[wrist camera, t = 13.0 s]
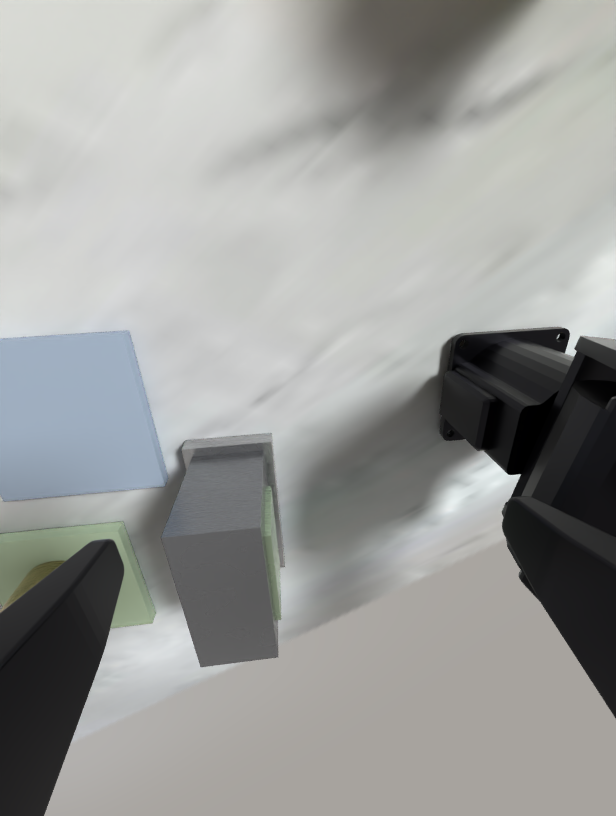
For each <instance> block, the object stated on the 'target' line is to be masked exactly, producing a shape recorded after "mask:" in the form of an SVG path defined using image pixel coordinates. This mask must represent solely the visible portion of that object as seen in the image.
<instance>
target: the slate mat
mask: <svg viewBox="0 0 616 816" xmlns="http://www.w3.org/2000/svg"><path fill="white" fill-rule="evenodd" d="M167 480H168V474H167V471H166V467H165V463H164V459H163V456H162V452H161V448H160V444H159V441H158V437H157V433H156V429H155V426H154V422H153V418H152V414H151V411H150V407H149V403H148V400H147V396H146V392H145V388H144V385H143V381H142V377H141V373H140V370H139V366H138V362H137V358H136V355H135V351H134V347H133V343H132V340H131V336H130V332H129V331H113V332H98V333H82V334H66V335H51V336H35V337H20V338H4V339H0V495H1V497H2V499H3V501H14V500H25V499H35V498H46V497H57V496H67V495H78V494H88V493H99V492H110V491H120V490H131V489H142V488H152V487H163V486H165V485H166V483H167Z"/></svg>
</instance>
